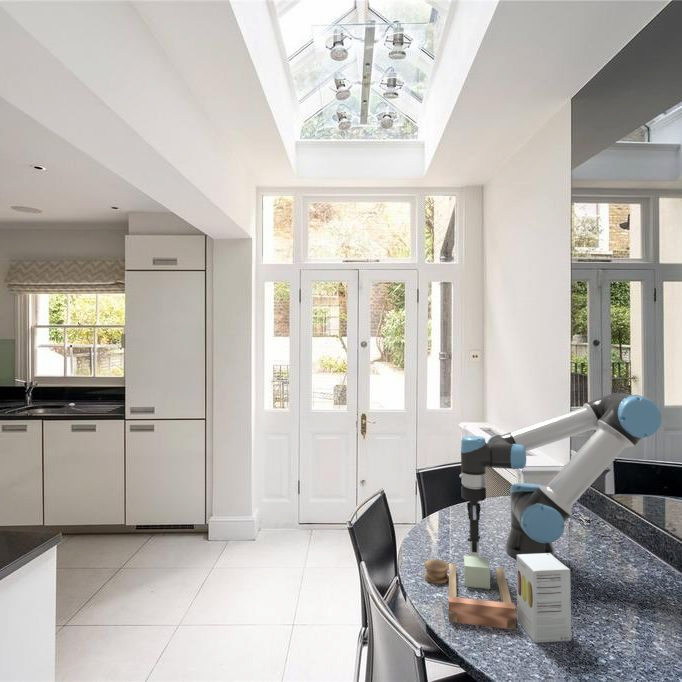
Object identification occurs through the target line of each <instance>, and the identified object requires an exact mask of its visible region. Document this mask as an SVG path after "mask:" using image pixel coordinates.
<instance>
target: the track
mask: <svg viewBox="0 0 682 682" xmlns="http://www.w3.org/2000/svg"><path fill="white" fill-rule="evenodd" d="M456 564H457V563H448V565H449V569H448V576H449V580H448V622H450V623H456V624H463V625H466V624H467V625H473V626H483V627H490V628H500V629H506V630H507V629H509V630H517V625H516V624H517V622H516V621H517V619H516V618H517V615H516V614H517V612H516V610H517V609H516V605H515V603H512V598H511V594H510V590H509V587H508V583H507V578H506V574H505V569H504V567H496V569H495V571H496V574H495V575H496V581H497V586H498V590H499V596H500V600H501V601H493V600H485V599H484V600H483V599H475V598H467V597H466V598H465V597H464V598H463V597H457V569H456V568H457V567H456V566H457V565H456Z"/></svg>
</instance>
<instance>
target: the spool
mask: <svg viewBox="0 0 682 682" xmlns="http://www.w3.org/2000/svg"><path fill="white" fill-rule="evenodd" d="M423 565H424V569H426V572H425V573H424V580H426V581H427V582H429V583H432V584H435V585H436V584H438V585H439V584H440V585H441V584H446V583H447V582H448V583H449V574H448V571H449V563H447V561H445V560H441V559H434V558H433V559H428V560H426V561H424V564H423Z"/></svg>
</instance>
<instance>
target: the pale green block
mask: <svg viewBox="0 0 682 682" xmlns="http://www.w3.org/2000/svg"><path fill="white" fill-rule="evenodd" d="M490 567H491V566H490V562H489V557H483V556H479V557H473V556H470V555H463V577H464V587H465V588H466V587H467V588H468V587H469V588H477V589H478V588H479V589H488V590H489V589H491V569H490Z"/></svg>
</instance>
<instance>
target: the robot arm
mask: <svg viewBox="0 0 682 682" xmlns="http://www.w3.org/2000/svg"><path fill="white" fill-rule="evenodd" d="M662 421H663V420H662V413H661V410H660V408H659V407H658V405H657V404H656V403H655V402H654V401H652V400H651V399H649V398H646V397H645V396H642V395H639V394H630V393H626V392H613V393H610V394H607V395H604V396H602V397H599V398H596V399H594V400H591V401H589V402H585V403H584V404H583V406H582V407H581V408H578V409H574V410H572V411H568V412H566V413H563V414H560V415H557V416H554V417H551V418H547V419H545V420H542V421H540V422H537V423H534V424H532V425H528V426H524V427H522V428H519V429H516V430H514V431H513V430H512V431H511V432H507V433H504V434H502V435H500V434H494V435H492V436H491V437H489V438H488V439H487V442H486V438H485V437H483V436H478V435H467V436H466V435H465V436H464V437H462V439H461V442H460V444H461V445H460V446H461V447H460V465H461V467H460V468H461V473H460V474H459V478H460V479H461V484H462V485H461V489H460V490H461V491H460V492H461V498H462V499H464V500H466V501H469V502H467V504H466V505H467V506H466V507H467V516H468V520H469V538H467V541H468V542H469V556H473V557H480V556H479V555H480V554H479V553H480V549H479V548H480V546H479V545H480V543H479V542H480V539H481V535H480V534H479V533H480V531H479V525H480V523H479V521H480V519H481V516H480V515H481V514H480V513H481V504H480V502H482V501H485V500H486V499H487V489H486V488H487V487H486V486H487V473H486V472H487V471H486V470H487V469H486V468H489V469H509V470H510V469H511V470H520V469H521V470H523V469H525V468H526V466H527V452H529V451H532V450H535V449H538V448H541V447H544V446H547V445H550V444H553V443H557V442H559V441H561V440H565V439H568V438H571V437H574V436H577V435H580V434H583V433H585V432H589V431H592V430H593V431H595V432H594V433H593V434H592V435H591V436H590V438H588V439H587V441H586V442H585V443H584V444H583V445H582V446H581V447H580V448H579V450H578V451H577V452H576V453H575V454H574V455H573V456H572V457H571V458H570V459H569V461H568V462H567V463H566V464H565V465H564V466H563V467H562V468H561V470H559V472H558V473H557V474H556V475H555V477H554V478H553V479H551V481H550V482H549V483H547V485H542V484H539V483H537V484H536V483H527V482H526V483H524V482H523V483H521V482H520V483H513V484H511V486H510V492H509V495H510V531H509V533H508V537H507V540H506V542H505V551H506V553H507V554H508V555H509V556H510V557H512V558H514V559H516V560H517V555H518V554H540V553H551V554H552V555H553V556H554V557H555V548H554V546H553V545H554V544H553V543H554V542H556V541H558V540H559V539H560V538H561V537H562V536H563V534H564V532H565V523H566V522H567V521H568V520H569V519H570V517H571V516H572V515H573V514H572V513H573V511H572V507H573V505H574V504H575V503H576V502H577V501H578V500H579V499H580V498H581V497H582V495H584V494H585V493H586V491H587V490H588V489H589V487H590V486H592V484H593V483H594V482H595V481H596V480H597V478H599V477H600V476H601V475H602V474H603V472H604V471H605V470H606V469H607V468H608V467H609V466H610V464H611V463H613V461H614V460H616V458H617V457H618V456H619V455H620V454H621V452H622V451H623V450H624V449H625V448H633V447H635V446H636V445H637V444H638V442H640V441H641V440H642V438H648V437H651V436H653V435H655V434H656V433H657V432H659V429H660V428H661V425H662Z"/></svg>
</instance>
